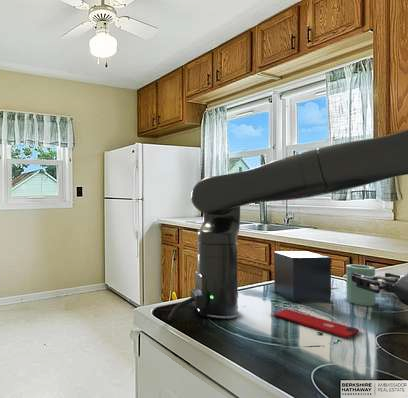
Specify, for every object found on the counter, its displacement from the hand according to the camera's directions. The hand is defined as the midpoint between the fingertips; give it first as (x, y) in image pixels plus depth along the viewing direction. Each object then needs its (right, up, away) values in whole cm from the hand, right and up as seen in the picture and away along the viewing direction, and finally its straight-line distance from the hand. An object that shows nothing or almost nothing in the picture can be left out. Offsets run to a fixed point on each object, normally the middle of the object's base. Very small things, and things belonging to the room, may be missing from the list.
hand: (369, 276), depth 83 cm
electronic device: (-22, -8, -12) cm, 26 cm away
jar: (0, -7, +3) cm, 8 cm away
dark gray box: (-13, -8, +8) cm, 17 cm away
